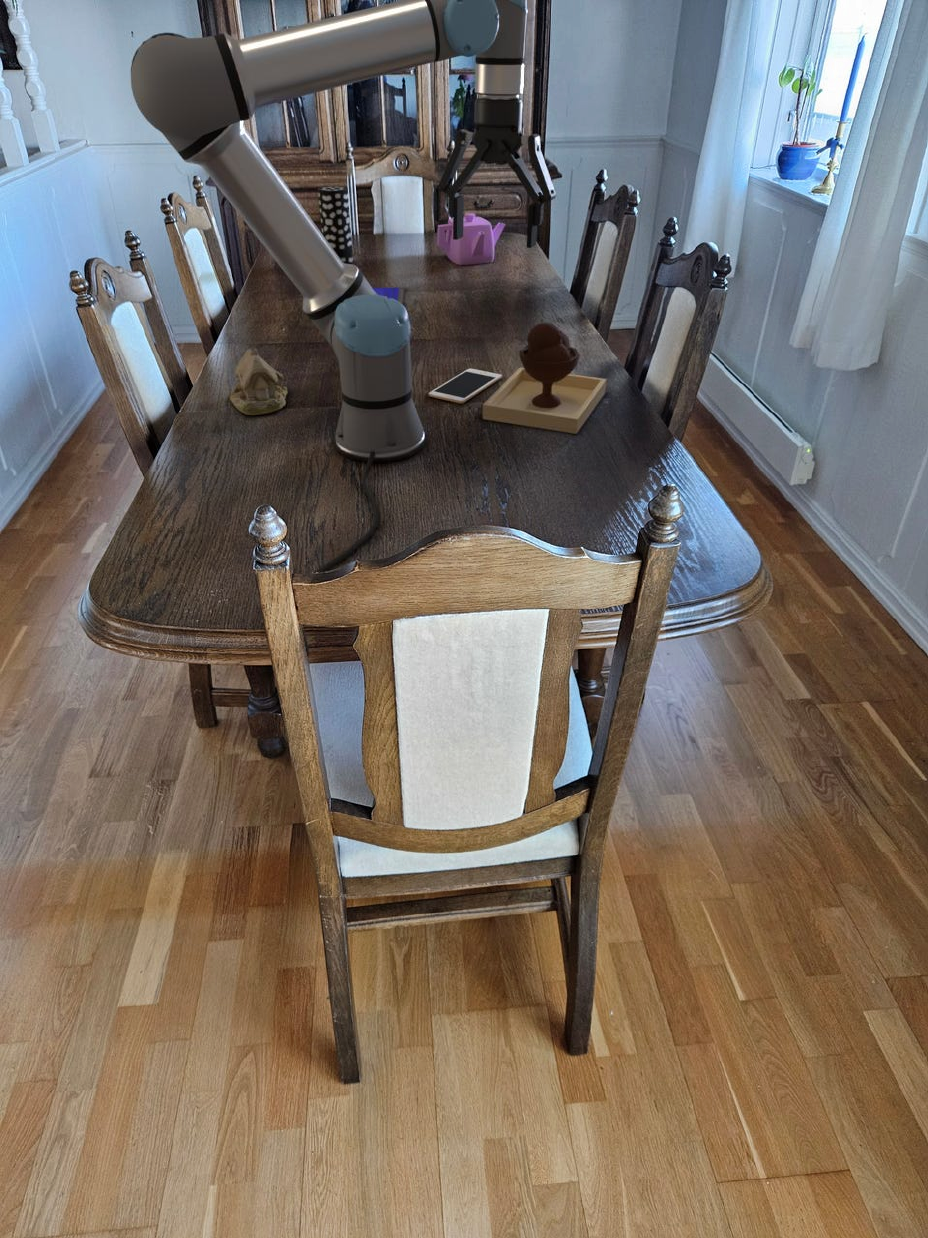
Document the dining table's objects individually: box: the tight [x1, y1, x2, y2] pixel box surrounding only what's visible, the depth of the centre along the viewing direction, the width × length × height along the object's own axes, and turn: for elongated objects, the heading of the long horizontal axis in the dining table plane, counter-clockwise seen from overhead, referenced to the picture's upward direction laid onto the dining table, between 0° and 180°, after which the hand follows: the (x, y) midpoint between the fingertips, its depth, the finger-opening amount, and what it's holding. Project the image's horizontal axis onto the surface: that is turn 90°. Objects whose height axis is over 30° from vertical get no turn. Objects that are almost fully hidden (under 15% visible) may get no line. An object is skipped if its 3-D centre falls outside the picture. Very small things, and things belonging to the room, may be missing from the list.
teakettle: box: [436, 212, 506, 266], centre depth 244 cm, size 17×17×12 cm
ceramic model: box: [229, 347, 288, 416], centre depth 156 cm, size 14×11×10 cm
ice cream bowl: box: [518, 322, 581, 408], centre depth 152 cm, size 11×11×15 cm
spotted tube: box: [317, 185, 354, 265], centre depth 237 cm, size 8×8×20 cm
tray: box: [482, 366, 608, 435], centre depth 156 cm, size 21×18×3 cm
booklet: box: [372, 287, 405, 305], centre depth 209 cm, size 12×25×1 cm, turn 1°
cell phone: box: [428, 368, 503, 404], centre depth 164 cm, size 8×16×1 cm, turn 149°
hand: (494, 242), depth 142 cm, fingers open, 13 cm apart
